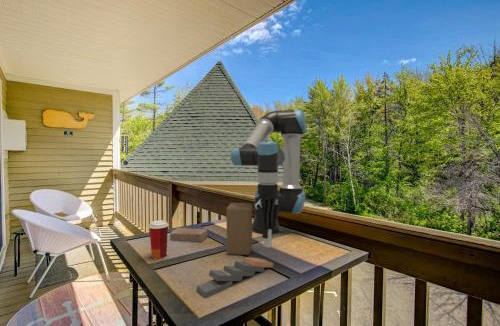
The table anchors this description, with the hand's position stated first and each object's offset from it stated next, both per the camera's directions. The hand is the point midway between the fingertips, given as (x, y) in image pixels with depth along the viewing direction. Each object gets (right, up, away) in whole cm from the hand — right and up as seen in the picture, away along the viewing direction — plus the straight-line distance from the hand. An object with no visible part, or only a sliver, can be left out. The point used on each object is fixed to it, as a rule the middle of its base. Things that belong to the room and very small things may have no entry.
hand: (267, 246), depth 98 cm
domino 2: (-14, -7, -13) cm, 20 cm away
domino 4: (-3, -7, -3) cm, 8 cm away
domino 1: (-11, -7, -10) cm, 16 cm away
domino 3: (-7, -7, -6) cm, 11 cm away
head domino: (0, -7, +1) cm, 7 cm away
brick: (-37, -7, +30) cm, 48 cm away
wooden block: (-11, -7, +15) cm, 20 cm away
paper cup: (-44, -7, +9) cm, 45 cm away
